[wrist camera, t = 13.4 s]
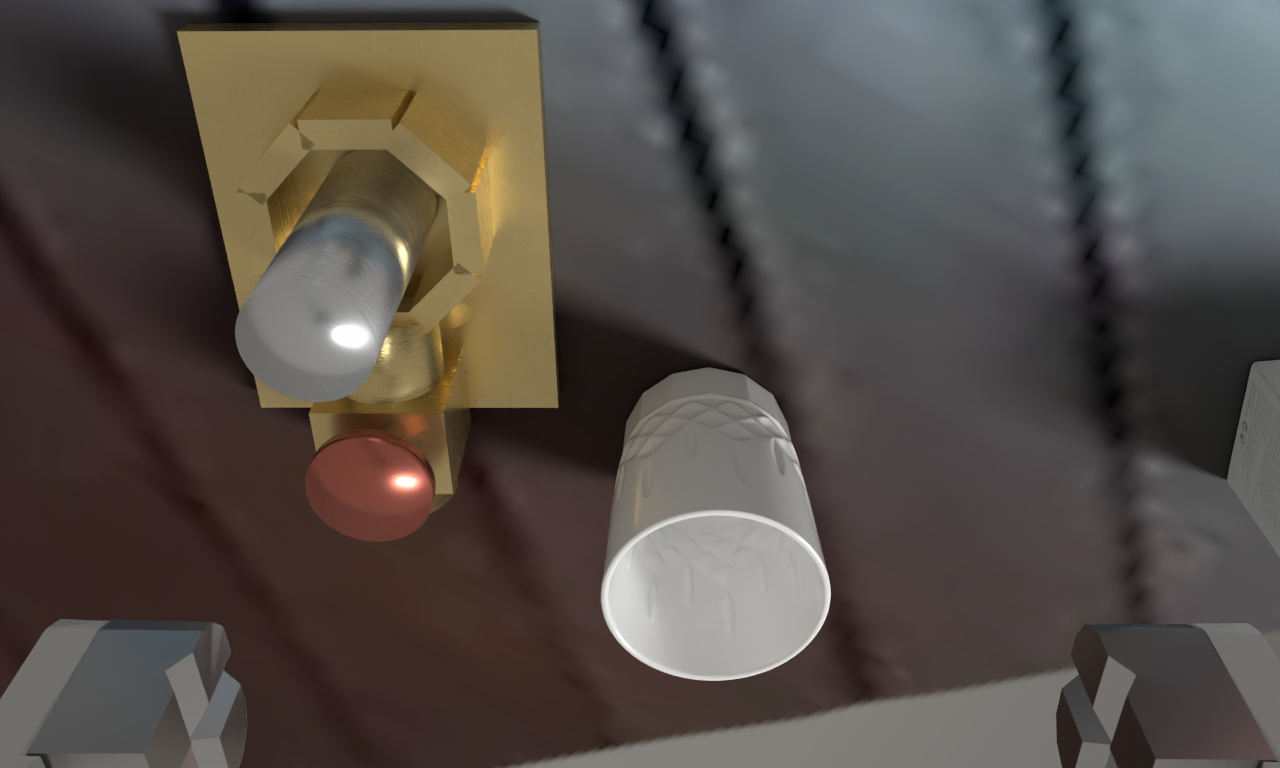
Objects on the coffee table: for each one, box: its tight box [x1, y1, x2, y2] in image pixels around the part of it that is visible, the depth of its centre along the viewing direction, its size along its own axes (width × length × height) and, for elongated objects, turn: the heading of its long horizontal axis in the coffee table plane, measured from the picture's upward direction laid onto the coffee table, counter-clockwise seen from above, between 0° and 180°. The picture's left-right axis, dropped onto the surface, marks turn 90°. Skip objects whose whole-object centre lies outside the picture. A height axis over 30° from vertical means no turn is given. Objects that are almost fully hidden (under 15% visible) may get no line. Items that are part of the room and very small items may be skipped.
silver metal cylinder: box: [235, 150, 437, 402], centre depth 37 cm, size 4×4×10 cm
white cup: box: [601, 367, 831, 681], centre depth 43 cm, size 8×8×10 cm
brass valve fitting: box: [177, 22, 560, 542], centre depth 40 cm, size 18×12×8 cm
